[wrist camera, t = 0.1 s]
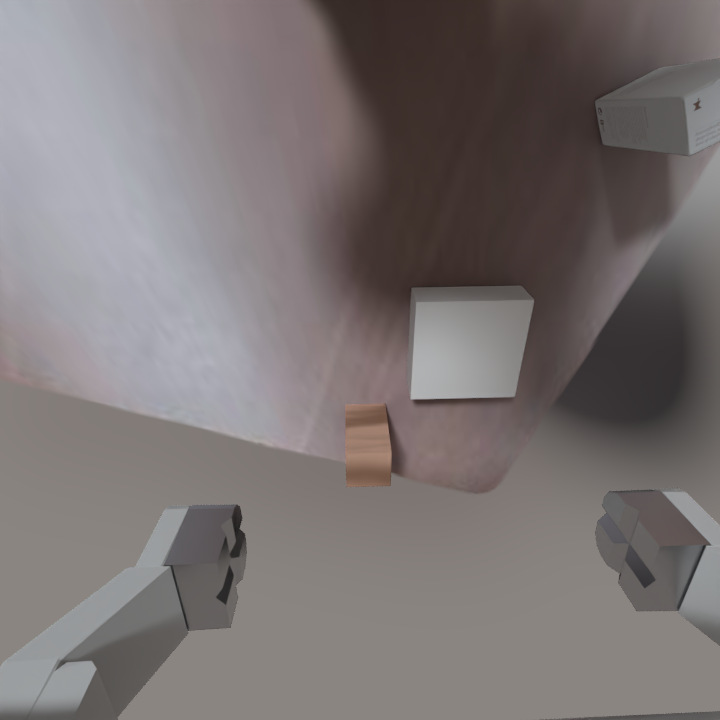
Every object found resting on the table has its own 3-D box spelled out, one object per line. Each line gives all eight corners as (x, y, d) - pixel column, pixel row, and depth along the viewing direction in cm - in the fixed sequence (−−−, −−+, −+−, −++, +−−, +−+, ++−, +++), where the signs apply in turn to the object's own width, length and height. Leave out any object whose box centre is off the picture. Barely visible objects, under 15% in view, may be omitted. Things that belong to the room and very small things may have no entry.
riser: (411, 287, 49) (416, 302, 45) (521, 285, 49) (534, 300, 45) (406, 380, 55) (410, 399, 51) (504, 378, 55) (514, 397, 51)
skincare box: (601, 147, 42) (686, 164, 32) (591, 97, 40) (678, 98, 29) (669, 113, 41) (781, 119, 30) (663, 60, 39) (780, 47, 28)
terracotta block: (345, 404, 56) (345, 454, 49) (385, 403, 56) (391, 452, 49) (346, 435, 59) (346, 486, 51) (384, 434, 59) (390, 485, 51)
